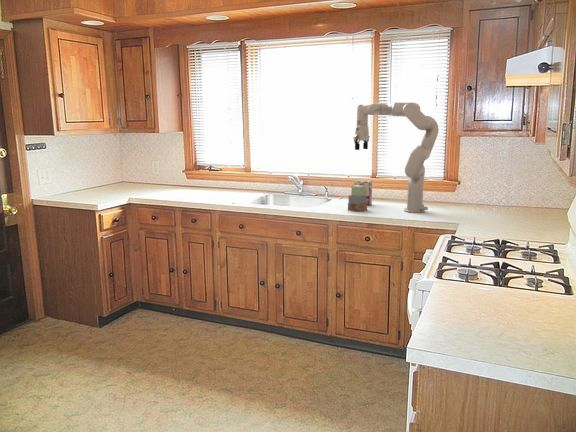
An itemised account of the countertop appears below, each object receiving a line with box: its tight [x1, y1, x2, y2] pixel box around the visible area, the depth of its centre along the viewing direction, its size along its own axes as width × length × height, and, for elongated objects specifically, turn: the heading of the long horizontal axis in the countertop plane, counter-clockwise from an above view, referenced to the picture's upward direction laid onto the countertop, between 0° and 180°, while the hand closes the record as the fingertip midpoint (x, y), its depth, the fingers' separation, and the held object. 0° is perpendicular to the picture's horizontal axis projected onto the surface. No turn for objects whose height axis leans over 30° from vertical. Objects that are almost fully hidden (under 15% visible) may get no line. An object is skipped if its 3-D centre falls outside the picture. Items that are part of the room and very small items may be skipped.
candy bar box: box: [354, 180, 373, 207], centre depth 347 cm, size 11×5×16 cm, turn 62°
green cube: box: [350, 184, 364, 196], centre depth 326 cm, size 6×6×6 cm
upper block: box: [348, 194, 366, 204], centre depth 327 cm, size 8×8×5 cm
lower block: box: [347, 202, 368, 213], centre depth 328 cm, size 9×9×5 cm
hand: (361, 149), depth 334 cm, fingers open, 9 cm apart
